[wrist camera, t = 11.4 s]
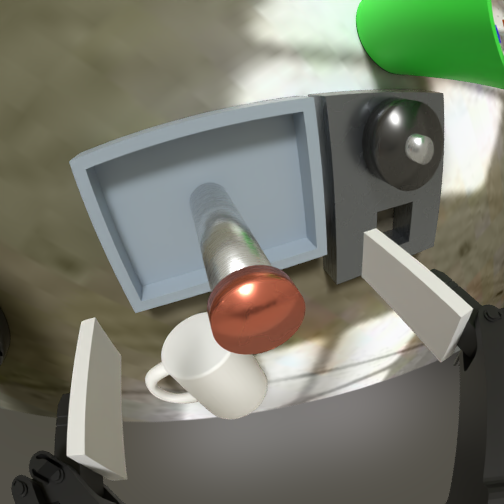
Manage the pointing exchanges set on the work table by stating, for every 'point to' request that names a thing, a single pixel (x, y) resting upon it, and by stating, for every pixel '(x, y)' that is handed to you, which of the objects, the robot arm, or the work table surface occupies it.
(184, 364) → the mug
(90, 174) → the tray
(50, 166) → the work table surface
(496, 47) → the green-shelled ribbed roller
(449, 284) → the robot arm
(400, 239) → the grey block with dome
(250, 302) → the pin
